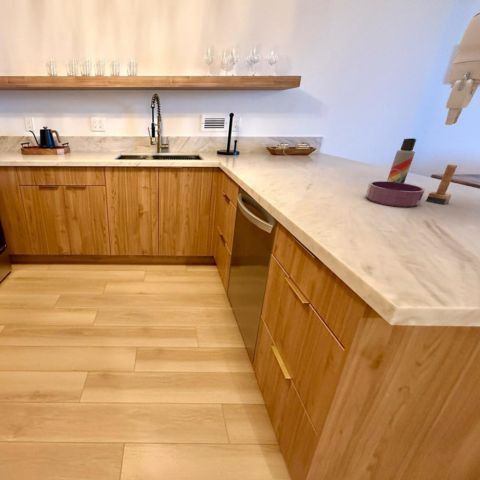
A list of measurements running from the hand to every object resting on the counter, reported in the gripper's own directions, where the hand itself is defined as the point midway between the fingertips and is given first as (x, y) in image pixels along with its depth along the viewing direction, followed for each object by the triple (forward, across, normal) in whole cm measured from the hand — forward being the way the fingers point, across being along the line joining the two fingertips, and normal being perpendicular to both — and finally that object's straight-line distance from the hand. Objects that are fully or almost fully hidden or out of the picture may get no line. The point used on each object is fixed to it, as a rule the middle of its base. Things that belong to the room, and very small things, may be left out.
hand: (450, 124), depth 91 cm
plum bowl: (+26, -6, +8) cm, 27 cm away
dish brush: (+26, +5, -4) cm, 27 cm away
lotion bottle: (+26, +16, +11) cm, 33 cm away
